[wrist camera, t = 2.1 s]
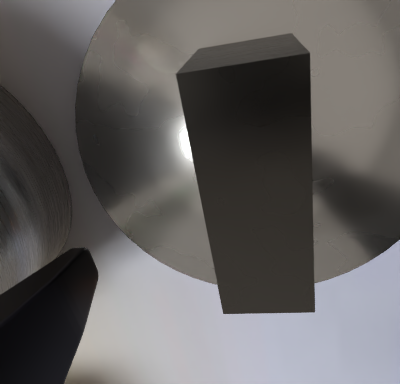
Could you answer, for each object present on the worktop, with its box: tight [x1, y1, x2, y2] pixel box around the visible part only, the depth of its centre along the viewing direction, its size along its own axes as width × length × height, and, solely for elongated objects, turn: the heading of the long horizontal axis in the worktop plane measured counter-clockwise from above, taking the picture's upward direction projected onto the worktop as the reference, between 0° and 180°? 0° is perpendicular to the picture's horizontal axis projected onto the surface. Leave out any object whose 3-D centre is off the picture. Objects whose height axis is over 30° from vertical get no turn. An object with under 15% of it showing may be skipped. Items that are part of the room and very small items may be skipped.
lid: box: [75, 0, 400, 314], centre depth 12 cm, size 14×14×5 cm
